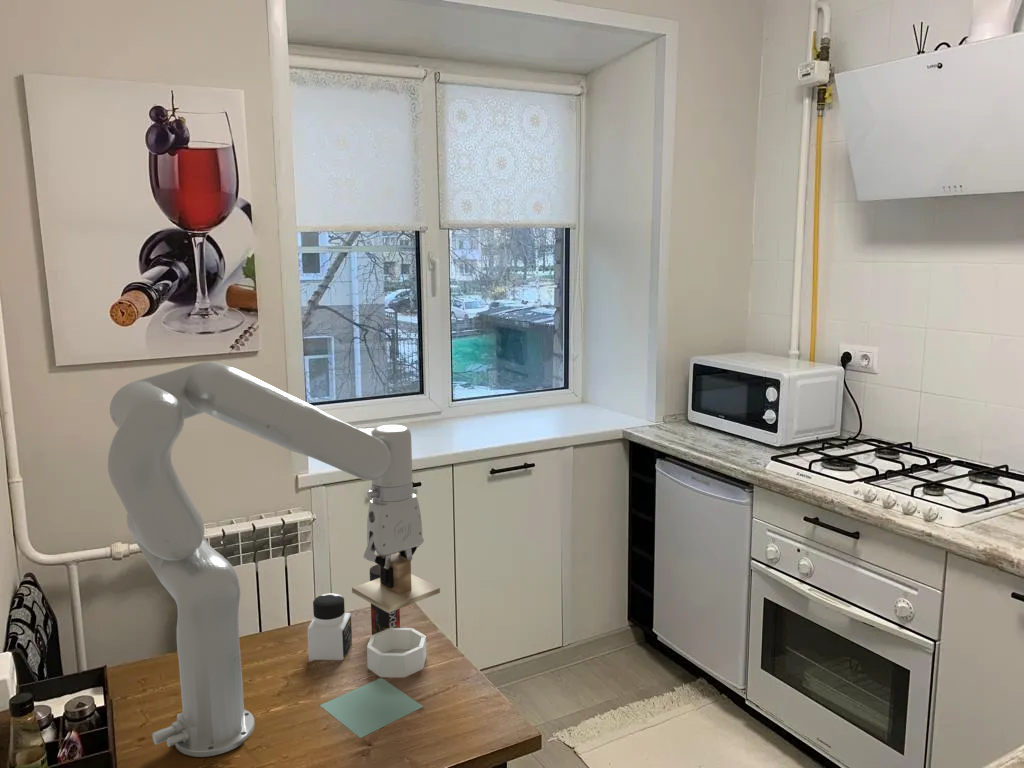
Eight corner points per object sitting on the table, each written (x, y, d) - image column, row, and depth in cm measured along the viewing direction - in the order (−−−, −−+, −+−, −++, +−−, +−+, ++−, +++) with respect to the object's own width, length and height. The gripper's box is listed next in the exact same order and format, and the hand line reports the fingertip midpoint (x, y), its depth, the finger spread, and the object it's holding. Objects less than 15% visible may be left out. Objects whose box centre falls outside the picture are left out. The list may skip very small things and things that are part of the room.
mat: (360, 741, 129) (360, 737, 129) (319, 708, 138) (319, 705, 138) (423, 709, 137) (423, 706, 137) (381, 680, 147) (381, 677, 147)
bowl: (390, 686, 145) (389, 661, 144) (358, 664, 152) (357, 640, 152) (436, 665, 152) (435, 641, 151) (403, 645, 160) (402, 622, 159)
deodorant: (384, 627, 168) (382, 561, 165) (406, 634, 164) (404, 567, 162) (365, 638, 162) (363, 571, 160) (388, 646, 159) (385, 577, 157)
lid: (388, 612, 141) (387, 576, 140) (352, 592, 150) (350, 558, 149) (439, 592, 150) (439, 558, 148) (402, 574, 158) (402, 541, 157)
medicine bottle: (344, 662, 153) (342, 605, 151) (308, 662, 153) (305, 605, 151) (352, 644, 160) (350, 589, 158) (318, 644, 160) (315, 589, 158)
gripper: (366, 505, 138) (370, 602, 141) (439, 486, 149) (441, 576, 152) (344, 496, 143) (348, 589, 147) (415, 478, 155) (417, 565, 158)
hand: (395, 582), depth 149 cm, fingers closed on lid, 3 cm apart
